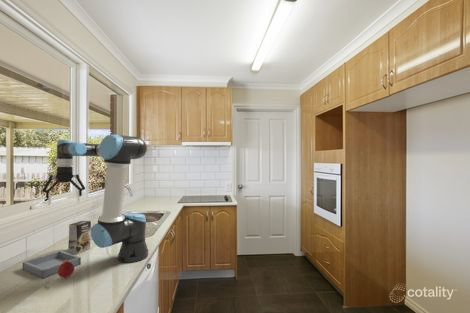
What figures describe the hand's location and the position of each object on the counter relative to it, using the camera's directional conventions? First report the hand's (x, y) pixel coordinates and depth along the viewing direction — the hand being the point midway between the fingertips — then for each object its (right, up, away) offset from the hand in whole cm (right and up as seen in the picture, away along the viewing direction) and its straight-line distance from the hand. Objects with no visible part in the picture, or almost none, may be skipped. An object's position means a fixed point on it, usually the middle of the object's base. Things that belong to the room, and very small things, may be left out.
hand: (64, 203), depth 137 cm
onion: (+24, -27, -33) cm, 49 cm away
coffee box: (+10, -27, -2) cm, 29 cm away
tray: (+10, -27, -22) cm, 36 cm away
